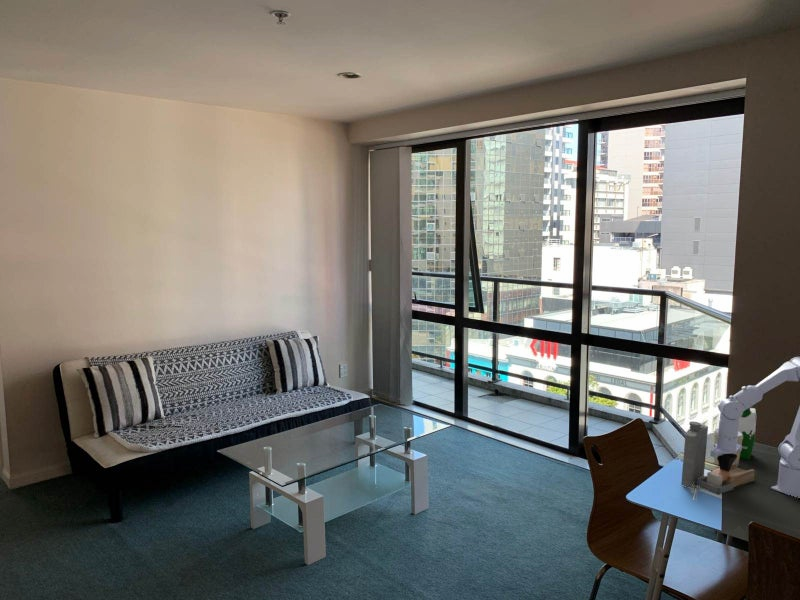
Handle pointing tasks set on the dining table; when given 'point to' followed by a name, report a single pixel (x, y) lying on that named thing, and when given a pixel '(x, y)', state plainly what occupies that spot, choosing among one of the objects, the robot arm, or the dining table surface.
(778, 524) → the dining table surface
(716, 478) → the tile
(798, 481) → the robot arm
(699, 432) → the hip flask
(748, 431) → the milk carton
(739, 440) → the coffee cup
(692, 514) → the dining table surface
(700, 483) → the tray
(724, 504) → the dining table surface
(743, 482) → the board
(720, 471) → the tile
